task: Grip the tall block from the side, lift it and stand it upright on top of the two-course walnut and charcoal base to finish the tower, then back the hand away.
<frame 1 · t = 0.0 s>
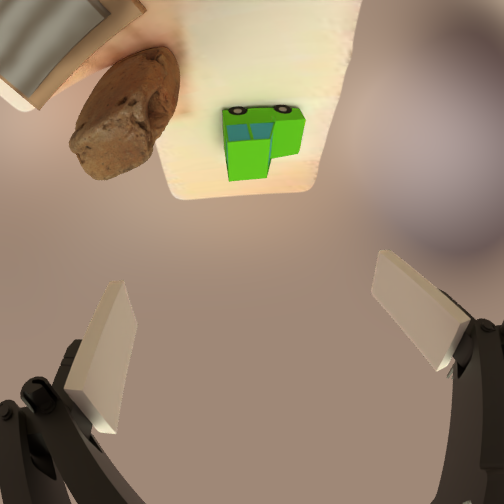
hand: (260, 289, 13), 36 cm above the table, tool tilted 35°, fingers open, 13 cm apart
block: (144, 69, 32), on the table
tower base: (46, 17, 17), on the table
toy car: (260, 122, 45), on the table
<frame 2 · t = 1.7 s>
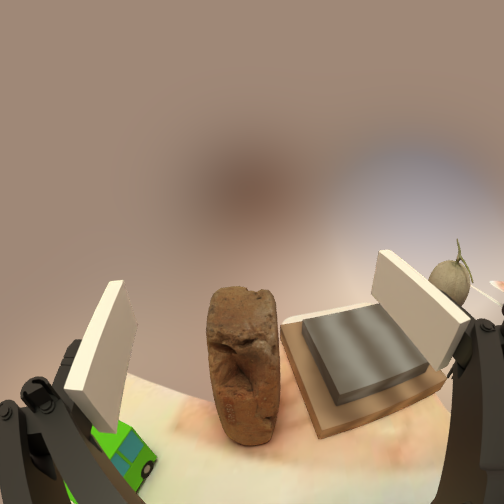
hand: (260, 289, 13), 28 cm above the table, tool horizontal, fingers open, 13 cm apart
fruit: (442, 309, 51), on the table
block: (251, 418, 34), on the table
tower base: (359, 365, 41), on the table
toy car: (114, 481, 23), on the table
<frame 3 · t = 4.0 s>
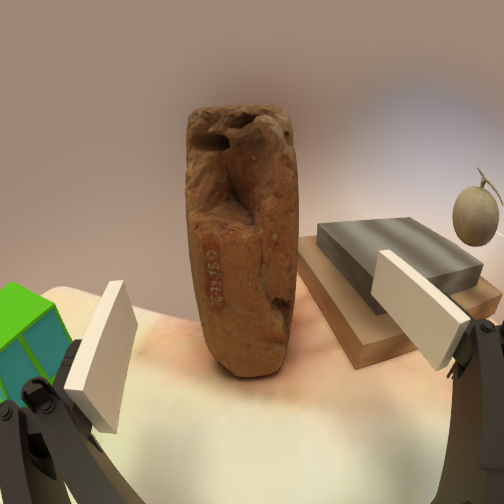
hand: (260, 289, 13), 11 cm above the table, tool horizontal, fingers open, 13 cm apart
fruit: (471, 245, 42), on the table
block: (251, 341, 25), on the table
tower base: (392, 285, 32), on the table
toy car: (38, 426, 14), on the table
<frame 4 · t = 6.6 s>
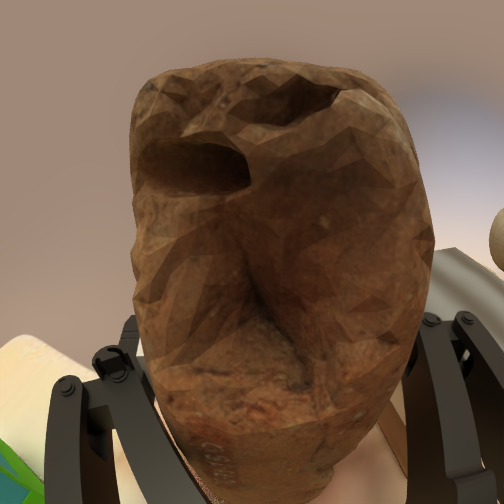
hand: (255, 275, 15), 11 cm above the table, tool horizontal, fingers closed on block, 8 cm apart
block: (270, 447, 15), on the table, touching gripper
tower base: (440, 340, 22), on the table
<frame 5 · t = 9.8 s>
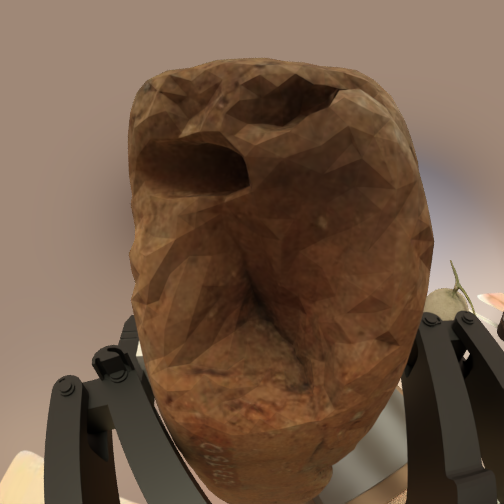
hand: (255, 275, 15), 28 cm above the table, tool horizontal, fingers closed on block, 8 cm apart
fruit: (433, 344, 42), on the table
block: (270, 448, 15), point 17 cm above the table, touching gripper
tower base: (344, 445, 28), on the table
when the fingers open (18 cm above the table, at t = 13.0 s): block drops 1 cm, resting on tower base.
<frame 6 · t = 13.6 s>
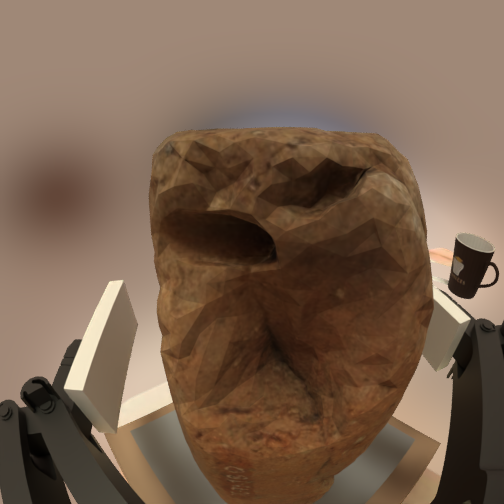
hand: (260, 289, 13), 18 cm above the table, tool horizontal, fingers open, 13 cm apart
block: (272, 455, 16), point 6 cm above the table, touching tower base
tower base: (270, 475, 18), on the table
coffee mug: (462, 294, 40), on the table
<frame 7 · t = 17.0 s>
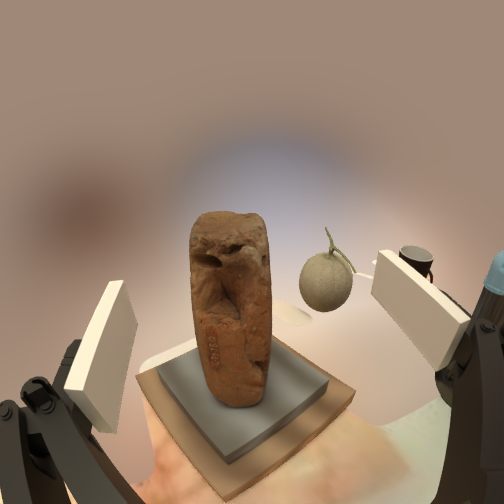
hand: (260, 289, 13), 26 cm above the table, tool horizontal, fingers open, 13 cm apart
fruit: (324, 307, 55), on the table
block: (239, 378, 32), point 6 cm above the table, touching tower base
tower base: (241, 402, 35), on the table
coffee mug: (407, 294, 57), on the table
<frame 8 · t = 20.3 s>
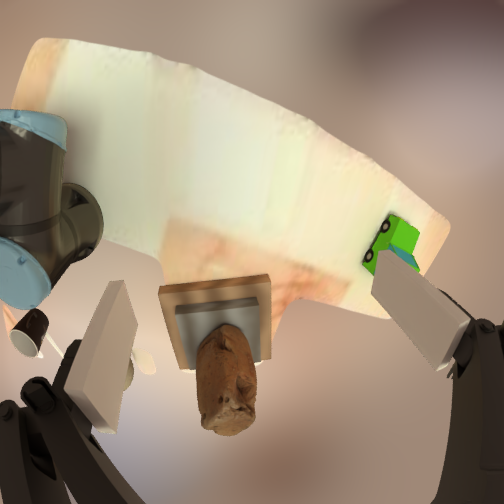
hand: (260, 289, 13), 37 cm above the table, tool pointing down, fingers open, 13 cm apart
fruit: (116, 351, 59), on the table
block: (221, 340, 54), point 6 cm above the table, touching tower base
tower base: (219, 322, 60), on the table
coffee mug: (41, 315, 52), on the table
toy car: (385, 242, 58), on the table
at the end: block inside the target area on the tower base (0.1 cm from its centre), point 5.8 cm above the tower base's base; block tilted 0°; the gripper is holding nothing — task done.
